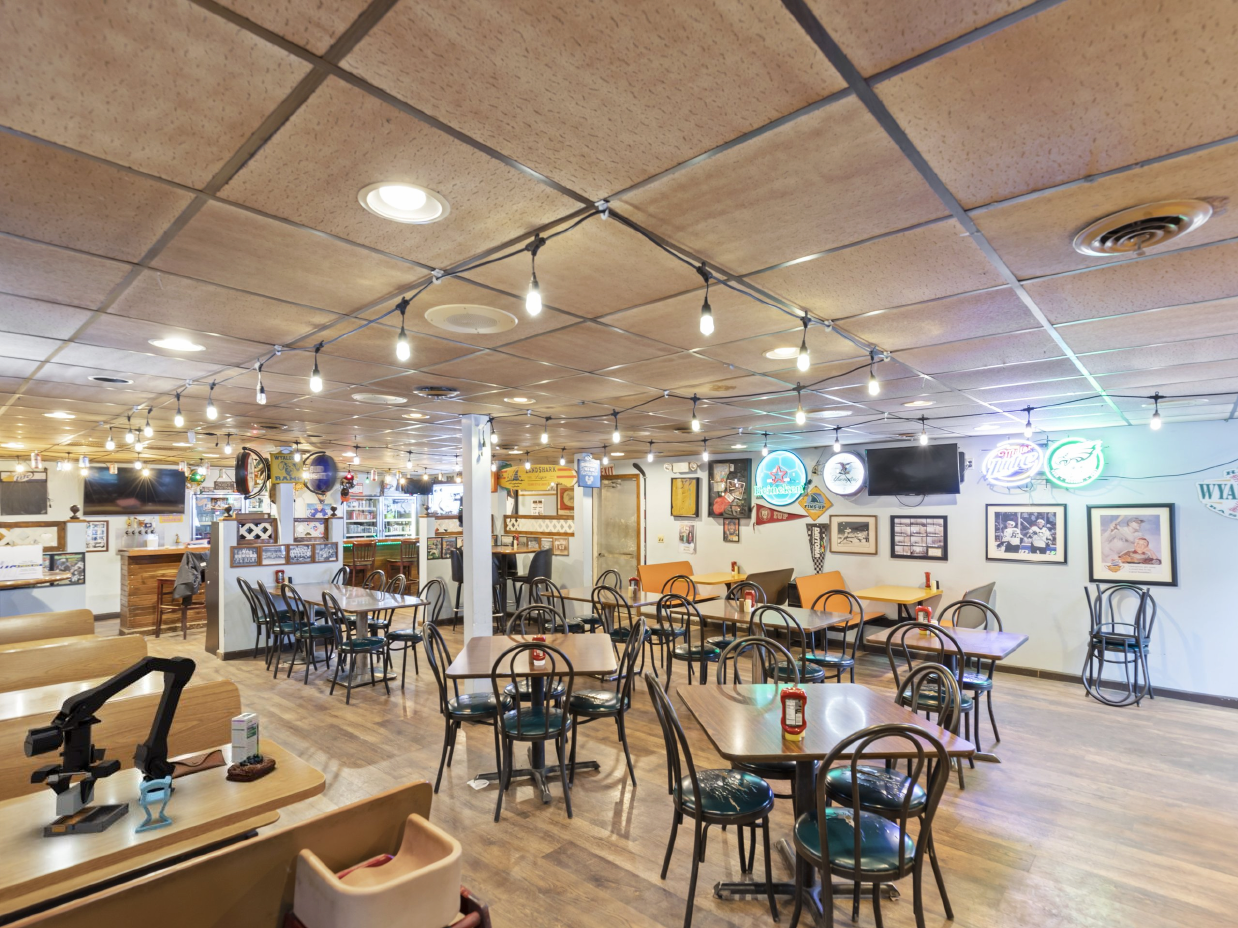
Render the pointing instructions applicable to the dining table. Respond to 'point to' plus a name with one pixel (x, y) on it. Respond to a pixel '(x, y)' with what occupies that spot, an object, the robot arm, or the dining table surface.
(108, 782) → the dining table surface
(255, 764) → the pastry
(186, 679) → the robot arm
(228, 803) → the dining table surface
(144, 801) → the chair
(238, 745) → the syrup box
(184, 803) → the dining table surface
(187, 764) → the sunglasses case
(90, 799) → the grey rectangular block
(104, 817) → the dark grey flat tray
